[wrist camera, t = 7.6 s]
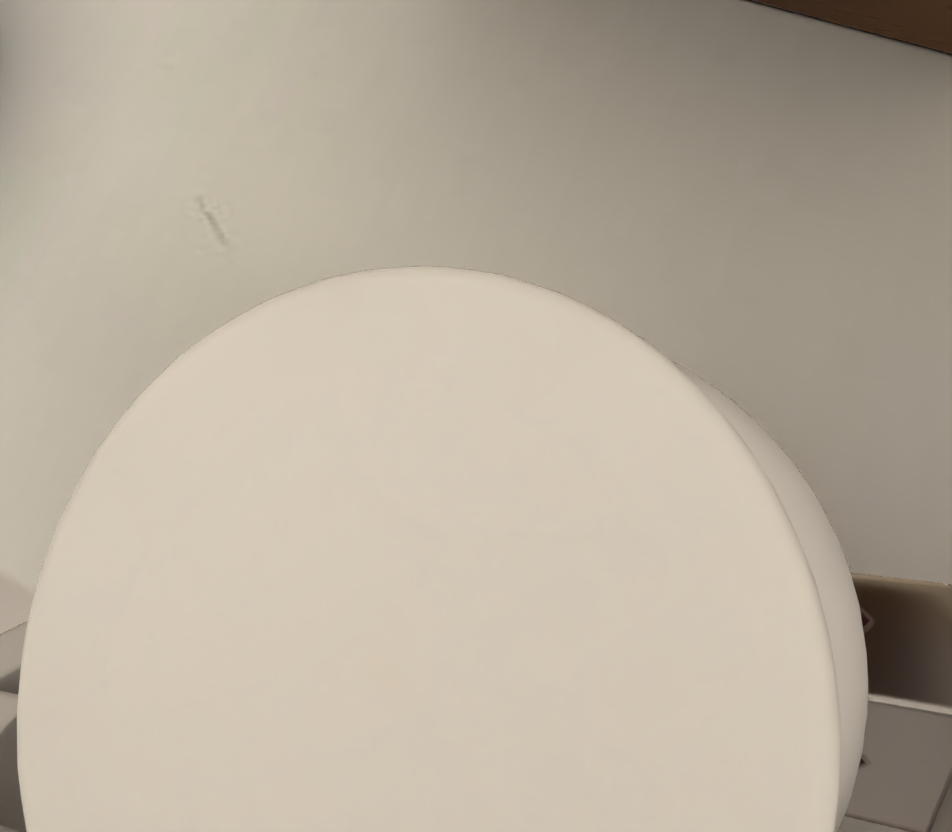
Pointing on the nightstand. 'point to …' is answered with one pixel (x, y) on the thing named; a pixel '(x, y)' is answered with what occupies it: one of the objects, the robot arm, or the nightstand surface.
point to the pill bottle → (439, 587)
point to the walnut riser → (884, 17)
